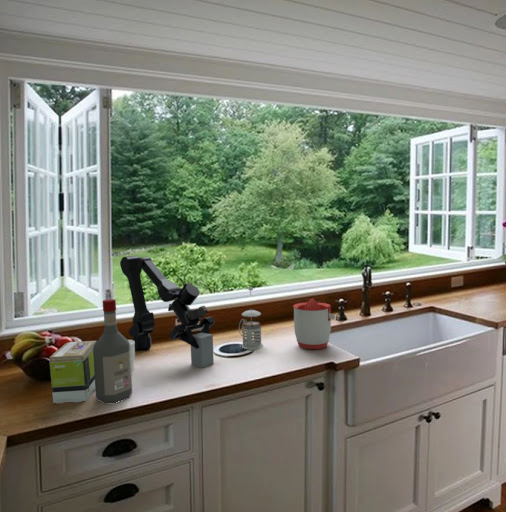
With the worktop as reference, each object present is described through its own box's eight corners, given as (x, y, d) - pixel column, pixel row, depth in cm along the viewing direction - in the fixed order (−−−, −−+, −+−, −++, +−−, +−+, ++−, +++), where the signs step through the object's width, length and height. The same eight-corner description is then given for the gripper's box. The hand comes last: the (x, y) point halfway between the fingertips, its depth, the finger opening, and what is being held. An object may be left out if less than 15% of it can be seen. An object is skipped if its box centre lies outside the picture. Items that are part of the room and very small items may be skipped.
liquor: (135, 395, 128) (131, 299, 125) (109, 406, 121) (103, 304, 118) (119, 388, 134) (114, 296, 131) (92, 398, 127) (86, 301, 124)
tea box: (69, 384, 138) (66, 341, 137) (100, 382, 139) (98, 339, 138) (51, 404, 123) (48, 355, 122) (86, 402, 124) (83, 354, 123)
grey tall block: (191, 364, 154) (190, 335, 153) (202, 360, 159) (201, 332, 158) (202, 368, 151) (201, 338, 150) (213, 363, 155) (212, 334, 154)
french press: (268, 345, 176) (267, 286, 174) (249, 352, 167) (248, 290, 165) (251, 341, 183) (250, 284, 180) (232, 347, 174) (230, 288, 172)
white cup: (140, 367, 153) (139, 340, 153) (127, 374, 146) (125, 346, 145) (122, 365, 156) (120, 338, 155) (108, 372, 149) (107, 345, 148)
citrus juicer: (333, 353, 163) (332, 303, 162) (290, 350, 169) (289, 301, 167) (338, 342, 178) (337, 295, 176) (298, 339, 184) (297, 294, 182)
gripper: (173, 304, 148) (195, 339, 142) (211, 295, 162) (232, 327, 156) (160, 322, 154) (181, 357, 148) (198, 313, 168) (218, 344, 162)
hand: (204, 346), depth 153 cm, fingers closed on grey tall block, 6 cm apart
